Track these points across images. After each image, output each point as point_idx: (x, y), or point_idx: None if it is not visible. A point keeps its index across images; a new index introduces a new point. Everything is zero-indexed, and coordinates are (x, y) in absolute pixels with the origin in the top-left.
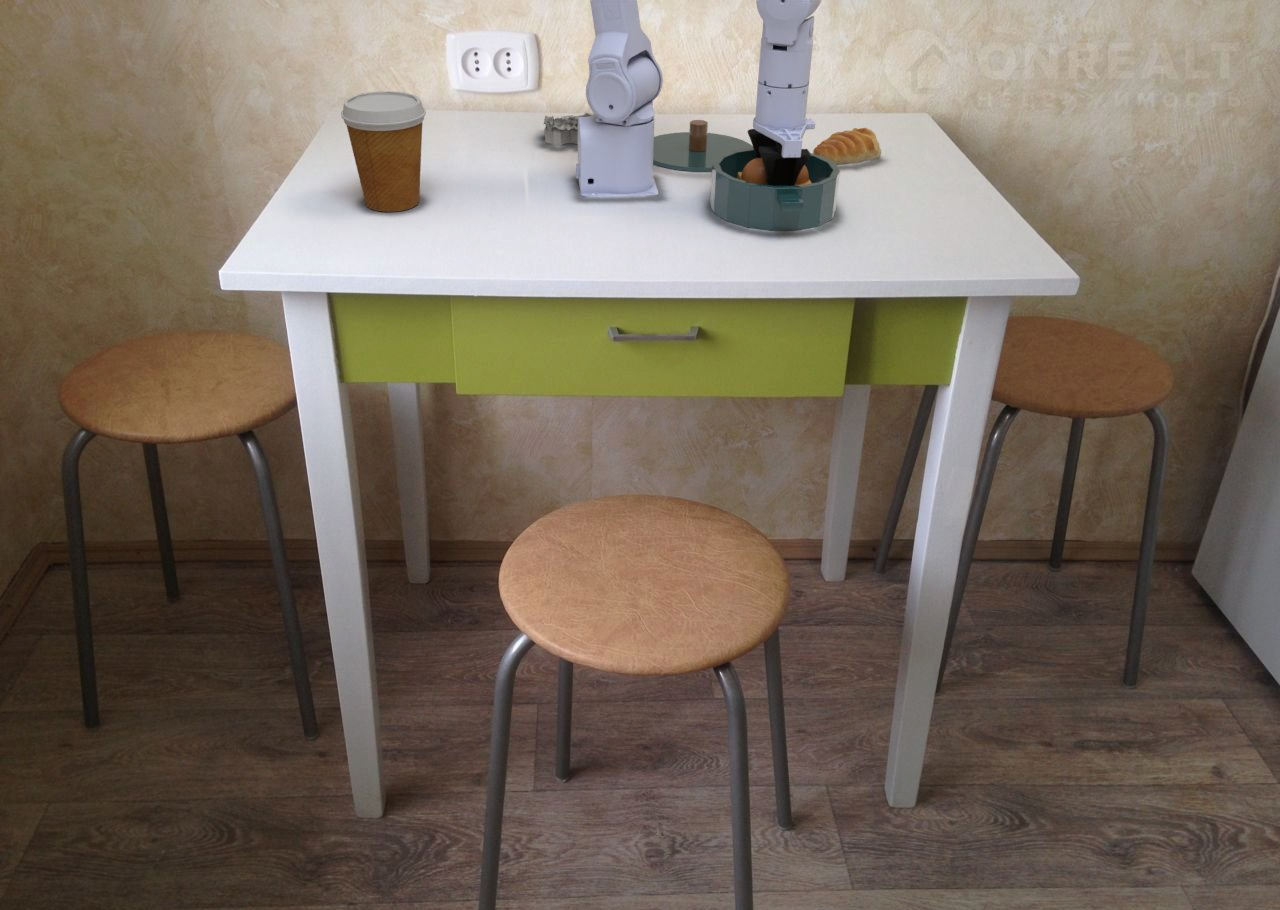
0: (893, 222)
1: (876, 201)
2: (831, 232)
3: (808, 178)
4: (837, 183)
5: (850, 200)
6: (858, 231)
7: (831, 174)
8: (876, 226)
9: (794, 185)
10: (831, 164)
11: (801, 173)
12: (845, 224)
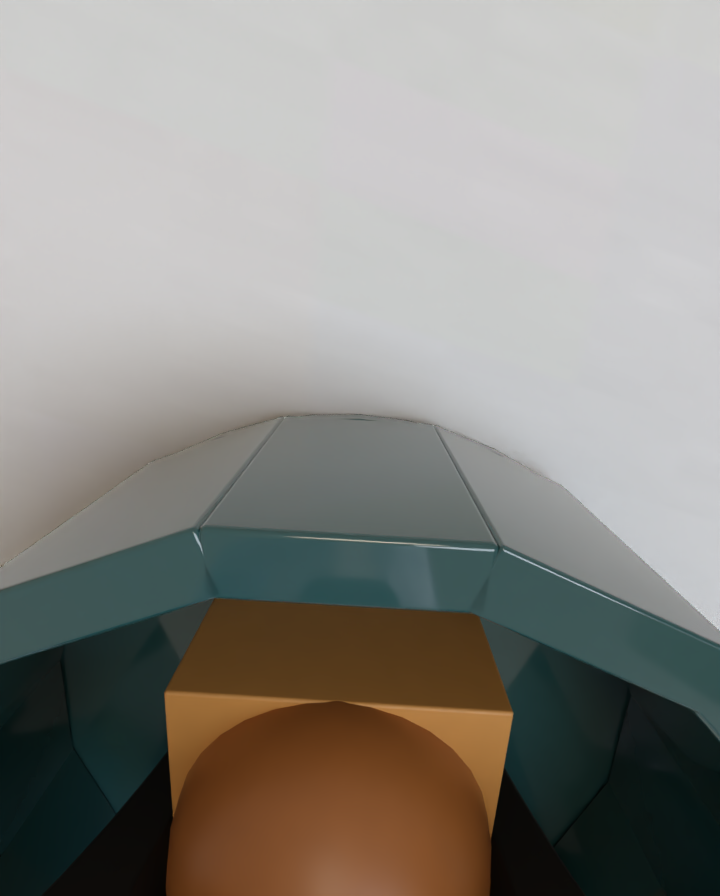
0: (615, 51)
1: (191, 31)
2: (669, 509)
3: (405, 735)
4: (566, 540)
5: (172, 231)
6: (699, 357)
7: (627, 677)
8: (654, 211)
9: (565, 868)
10: (279, 580)
11: (471, 869)
12: (575, 398)
